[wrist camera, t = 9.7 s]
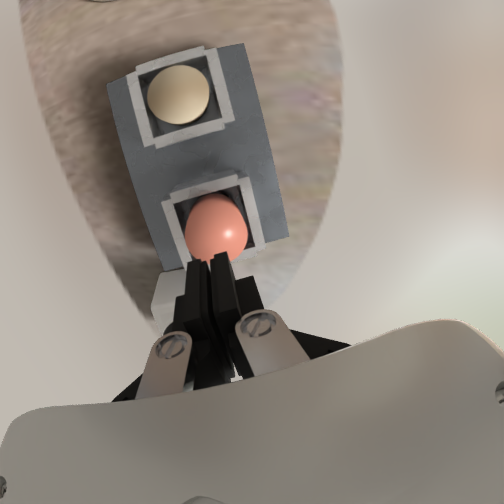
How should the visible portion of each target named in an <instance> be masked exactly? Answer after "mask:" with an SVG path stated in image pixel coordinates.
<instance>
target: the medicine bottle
mask: <svg viewBox="0 0 504 504" xmlns="http://www.w3.org/2000/svg"><path fill="white" fill-rule="evenodd" d="M185 282H186V271H185V269H180V270H174V271H169V272H163V273H161V274H160V275H159V278H158V282H157V285H156V289H155V292H154V296H153V300H152V303H151V311H152V314H153V316H154V319H155V322H156V324H157V327H158V329H159V332H160V334H161V337H162V336H163V335H166V334H168V333H171V332H172V326H173V316H174V308H175V300H176V297H177V296H180V295H184V293H185Z"/></svg>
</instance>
